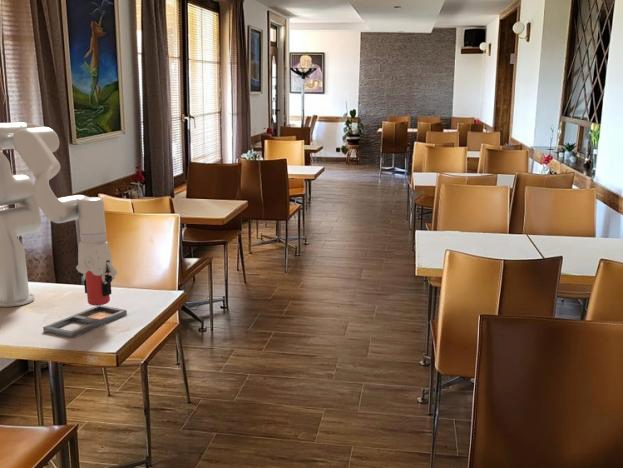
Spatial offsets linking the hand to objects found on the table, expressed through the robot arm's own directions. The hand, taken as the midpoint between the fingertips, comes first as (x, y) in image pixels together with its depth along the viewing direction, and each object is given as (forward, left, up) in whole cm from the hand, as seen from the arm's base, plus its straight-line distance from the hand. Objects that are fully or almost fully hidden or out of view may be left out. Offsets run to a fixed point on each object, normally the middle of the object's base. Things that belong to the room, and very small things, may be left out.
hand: (98, 293), depth 198 cm
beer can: (0, 0, -3) cm, 3 cm away
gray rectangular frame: (0, -6, -8) cm, 10 cm away
